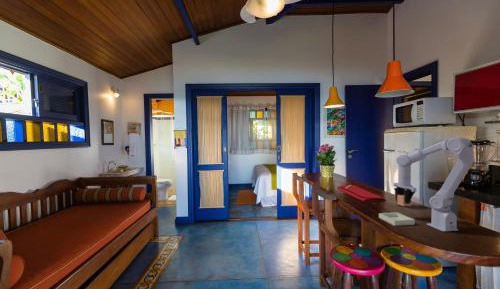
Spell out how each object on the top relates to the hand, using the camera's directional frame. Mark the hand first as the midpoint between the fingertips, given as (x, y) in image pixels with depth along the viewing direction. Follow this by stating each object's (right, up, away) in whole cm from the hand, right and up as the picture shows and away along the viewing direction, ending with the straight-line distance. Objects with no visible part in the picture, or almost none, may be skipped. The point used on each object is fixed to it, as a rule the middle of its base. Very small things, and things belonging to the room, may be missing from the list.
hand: (404, 202), depth 135 cm
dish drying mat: (-1, -7, +54) cm, 54 cm away
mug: (+12, -8, +21) cm, 25 cm away
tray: (-7, -9, -5) cm, 13 cm away
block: (0, -2, 0) cm, 2 cm away
